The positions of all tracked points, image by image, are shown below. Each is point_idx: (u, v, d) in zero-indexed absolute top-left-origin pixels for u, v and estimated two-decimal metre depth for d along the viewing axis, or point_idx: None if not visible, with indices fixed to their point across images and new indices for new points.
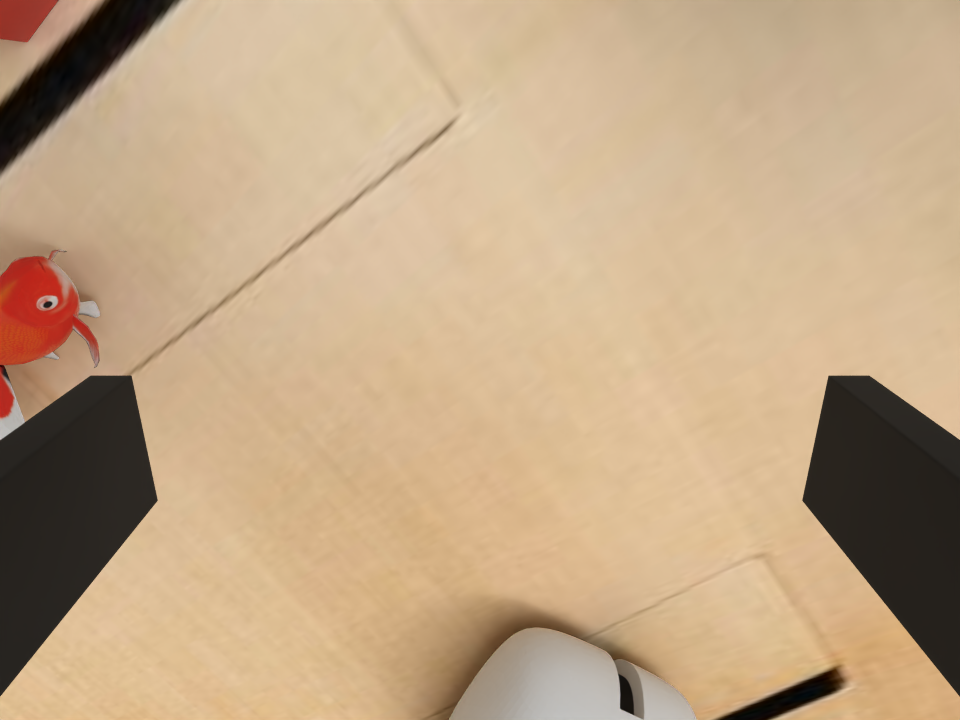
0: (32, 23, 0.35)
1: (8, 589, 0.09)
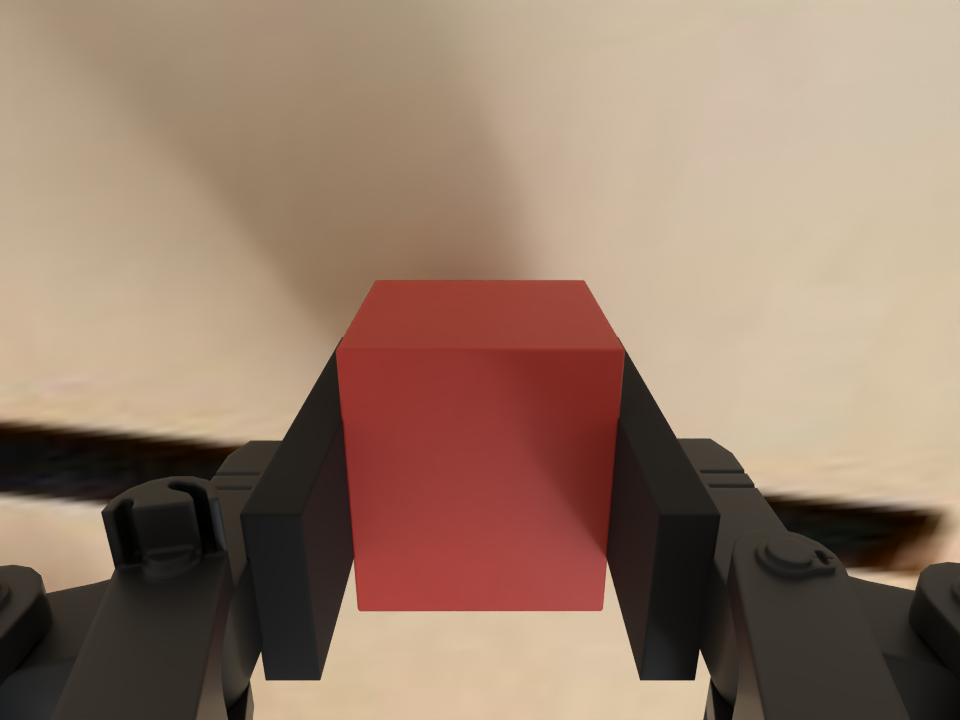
0: None
1: (347, 500, 0.11)
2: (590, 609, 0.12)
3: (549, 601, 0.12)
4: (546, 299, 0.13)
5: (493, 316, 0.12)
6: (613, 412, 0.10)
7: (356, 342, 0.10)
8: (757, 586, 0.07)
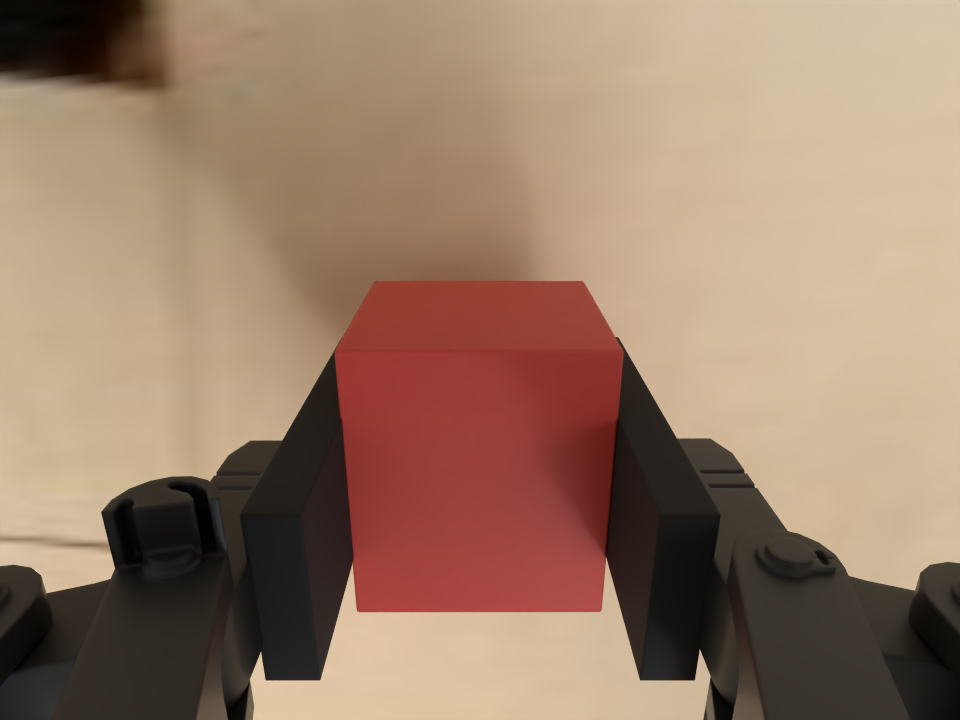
0: None
1: (347, 500, 0.11)
2: (589, 610, 0.12)
3: (547, 602, 0.12)
4: (545, 300, 0.13)
5: (492, 317, 0.12)
6: (612, 413, 0.10)
7: (355, 343, 0.10)
8: (757, 586, 0.07)
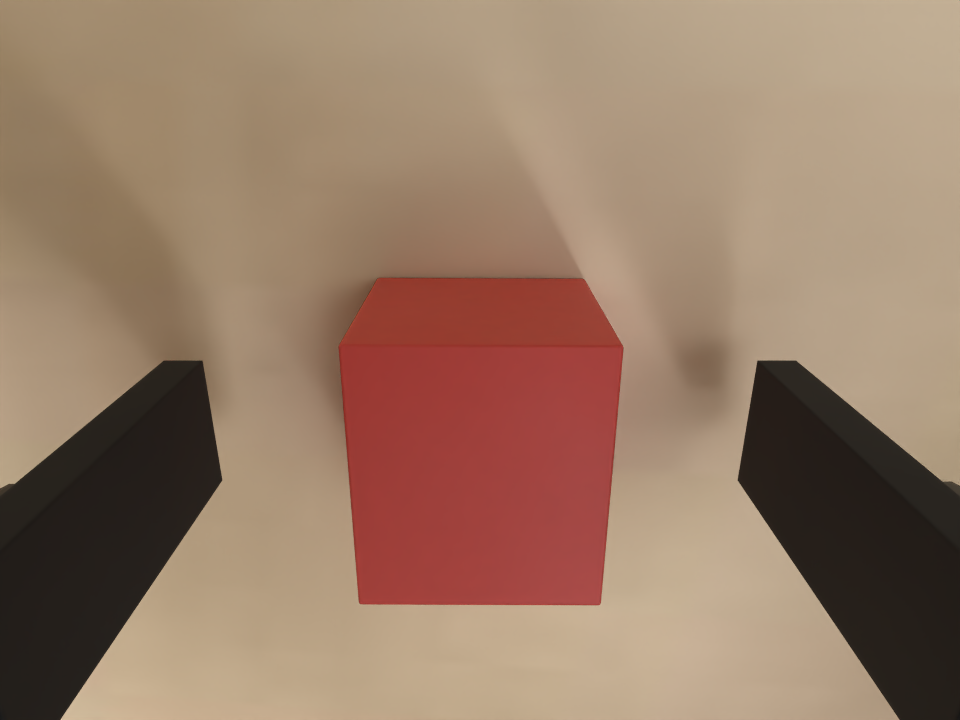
0: None
1: (111, 553, 0.10)
2: (588, 603, 0.12)
3: (547, 595, 0.12)
4: (546, 297, 0.13)
5: (494, 313, 0.12)
6: (611, 408, 0.11)
7: (358, 338, 0.11)
8: None
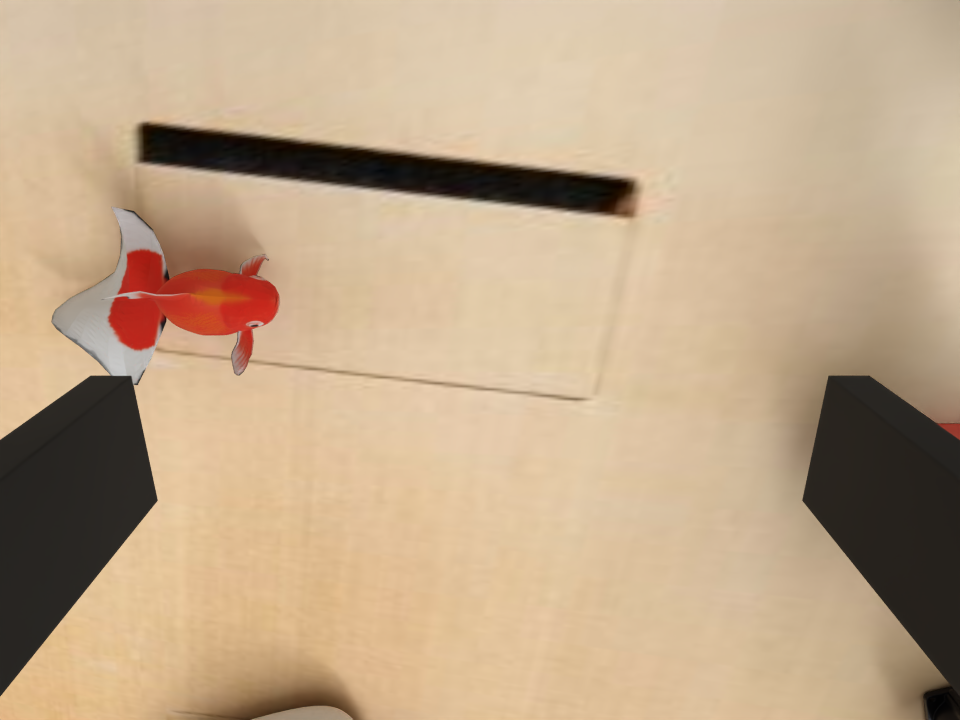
0: None
1: (7, 589, 0.09)
2: None
3: None
4: None
5: None
6: None
7: None
8: None
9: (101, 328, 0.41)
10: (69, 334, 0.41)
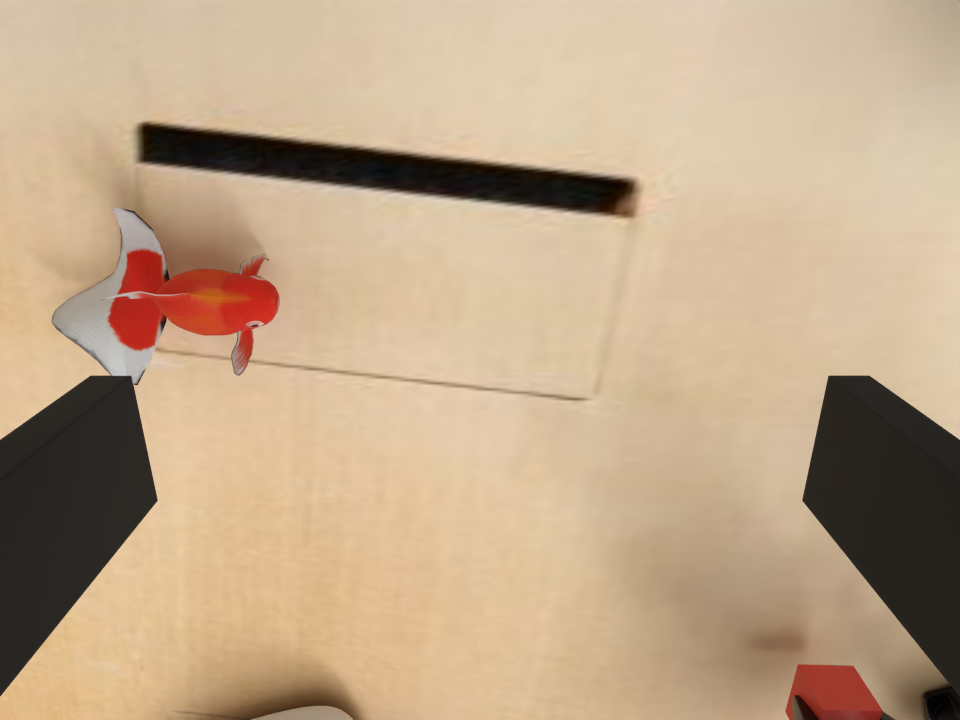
0: None
1: (7, 589, 0.09)
2: None
3: None
4: (851, 680, 0.51)
5: (844, 691, 0.50)
6: None
7: (824, 705, 0.49)
8: None
9: (101, 328, 0.41)
10: (69, 334, 0.41)
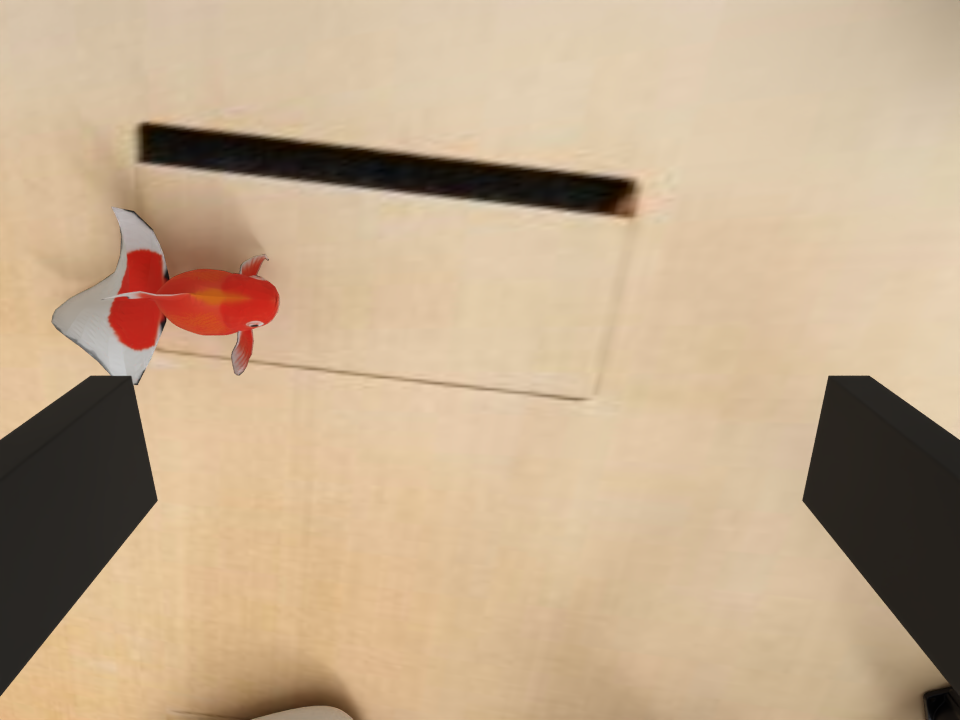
0: None
1: (7, 589, 0.09)
2: None
3: None
4: None
5: None
6: None
7: None
8: None
9: (101, 328, 0.41)
10: (69, 334, 0.41)
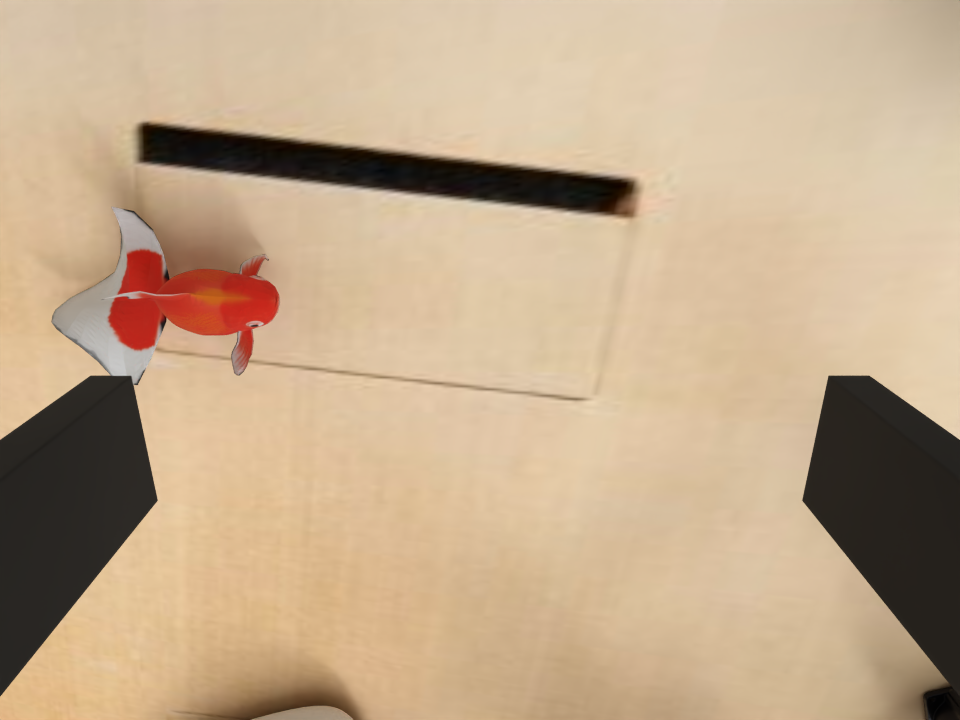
0: None
1: (7, 589, 0.09)
2: None
3: None
4: None
5: None
6: None
7: None
8: None
9: (101, 328, 0.41)
10: (69, 334, 0.41)
